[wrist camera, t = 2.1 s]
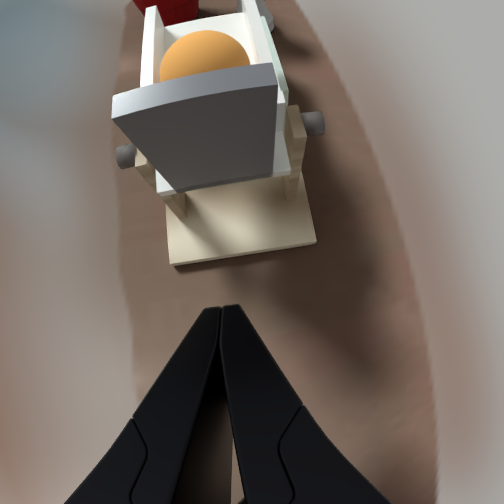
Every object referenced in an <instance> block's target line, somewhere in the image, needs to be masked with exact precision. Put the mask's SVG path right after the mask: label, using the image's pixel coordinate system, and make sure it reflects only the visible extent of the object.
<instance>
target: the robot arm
mask: <svg viewBox="0 0 504 504" xmlns="http://www.w3.org/2000/svg"><path fill="white" fill-rule="evenodd" d="M132 417H133V419H130V420H129V422H128V423H127V424H126V426H125V427H124V429H123V430H122V432H121V433H120V435H119V436H118V438H117V439H116V441H115V442H114V443H113V445H112V446H111V448H110V449H109V450H108V452H107V453H106V454H105V455H104V457H103V458H102V459H101V460H100V462H99V463H98V464H97V465H96V467H95V468H94V469H93V470H92V471H91V473H90V474H89V475H88V476H87V477H86V479H85V480H84V481H83V482H82V483H81V484H80V485H79V487H78V488H77V489H76V490H75V491H74V492H73V494H72V495H71V496H70V497H69V498H68V500H67V501H66V502H65V503H64V504H231V475H232V444H233V438H234V444H235V450H236V455H237V461H238V466H239V471H240V476H241V482H242V487H243V492H244V498H243V499H242V500H241V501H240V502H239V503H238V504H392V503H391V502H390V501H389V500H388V499H387V498H386V497H384V496H383V495H382V494H381V493H380V492H379V491H378V490H377V489H376V488H375V487H374V486H373V485H372V484H371V483H370V482H369V481H368V480H367V479H366V478H365V477H364V476H363V475H362V474H361V473H360V472H359V471H358V470H357V469H356V468H355V467H354V466H353V465H352V464H351V463H350V462H349V461H348V460H347V459H346V458H345V457H344V456H343V454H342V453H341V452H340V451H339V450H338V449H337V448H336V447H335V445H334V444H333V443H332V442H331V441H330V440H329V439H328V437H327V436H326V435H325V433H324V432H323V431H322V429H321V428H320V427H319V425H318V424H317V423H316V421H315V420H314V418H313V417H312V416H311V414H310V413H309V411H308V410H307V408H306V407H305V406H304V405H303V403H302V401H301V399H300V398H299V396H298V395H297V393H296V392H295V390H294V389H293V387H292V386H291V384H290V383H289V381H288V380H287V378H286V377H285V375H284V374H283V372H282V371H281V369H280V368H279V366H278V364H277V363H276V361H275V360H274V358H273V357H272V355H271V354H270V352H269V350H268V349H267V347H266V346H265V344H264V343H263V341H262V339H261V338H260V336H259V335H258V333H257V332H256V330H255V328H254V327H253V325H252V324H251V322H250V320H249V319H248V317H247V316H246V314H245V312H244V311H243V309H242V308H241V306H240V305H239V304H231V305H225V306H223V307H222V308H221V307H219V306H217V307H209V308H205V309H204V310H203V311H202V312H201V314H200V315H199V317H198V318H197V320H196V321H195V323H194V324H193V326H192V327H191V329H190V330H189V332H188V333H187V334H186V336H185V337H184V339H183V340H182V342H181V343H180V345H179V346H178V348H177V349H176V351H175V352H174V354H173V355H172V357H171V358H170V360H169V361H168V363H167V364H166V366H165V367H164V369H163V370H162V372H161V373H160V375H159V376H158V378H157V379H156V381H155V382H154V384H153V385H152V387H151V388H150V390H149V391H148V393H147V394H146V396H145V397H144V399H143V400H142V402H141V403H140V405H139V406H138V408H137V409H136V411H135V413H134V414H133V416H132Z"/></svg>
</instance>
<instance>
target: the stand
mask: <svg viewBox="0 0 504 504" xmlns="http://www.w3.org/2000/svg"><path fill="white" fill-rule="evenodd" d="M324 132H325V123H324V118H323V115H322V113H321V112H320V111H317V112H305V113H300V110H299V107H298V105H289V106H286V112H285V129H284V140H285V144H286V149H287V154H288V158H289V163H290V168H291V172H290V175H285V176H278V177H271V178H264V179H257V180H251V181H244V182H238V183H232V184H226V185H220V186H214V187H209V188H203V189H198V190H192V191H187V192H182V193H176V194H171V195H166V196H160V195H159V194H158V193H157V186H156V170H155V168H154V167H153V165H152V164H151V163H150V162H149V161H148V160H147V159H146V158H145V156H144V155H143V154H142V153H141V152H140V151H139V150H138V148H137V147H136V146H135V145H134V144H133V143H131V144H127V145H123V146H120V147H117V149H116V159H117V163H118V165H119V167H120V168H121V169H126V168H130V167H134V166H135V167H136V169H137V170H138V171H139V172H140V173H141V175H142V176H143V177H144V178H145V180H146V181H147V182H148V183H149V184H150V186H151V187H152V188H153V189H154V190H155V192H156V193H157V194H158V195H159V196H160V198H161V199H162V200H163V201H164V202H165V203H166V220H167V235H168V247H169V259H170V264H171V265H172V266H177V265H184V264H190V263H197V262H203V261H210V260H216V259H223V258H229V257H236V256H242V255H248V254H255V253H261V252H268V251H274V250H281V249H287V248H293V247H300V246H306V245H313V244H315V243H316V242H317V240H316V235H315V230H314V226H313V221H312V216H311V211H310V207H309V202H308V198H307V193H306V189H305V184H304V180H303V176H302V171H301V167H302V162H303V156H304V151H305V145H306V140H307V136H313V135H323V134H324Z"/></svg>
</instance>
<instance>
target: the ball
mask: <svg viewBox="0 0 504 504" xmlns="http://www.w3.org/2000/svg"><path fill="white" fill-rule="evenodd" d="M246 65H250V60H249V57H248V55H247V53H246V51H245V49H244V48H243V47H242V45H241V44H240V43H239V42H238V41H237V40H235V39H234V38H232V37H231V36H229V35H227V34H225V33H222V32H218V31H213V30H202V31H196V32H192V33H190V34H187V35H185V36H183V37H181V38H180V39H178V40H177V41H176V42H175V43H173V44H172V46H171V47H170V48H169V49H168V50H167V52H166V53H165V55H164V57H163V60H162V62H161V66H160V82H163V81H167V80H171V79H175V78H180V77H184V76H189V75H193V74H198V73H203V72H209V71H214V70H220V69H226V68H232V67H239V66H246Z"/></svg>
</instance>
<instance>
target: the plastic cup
mask: <svg viewBox="0 0 504 504" xmlns="http://www.w3.org/2000/svg"><path fill="white" fill-rule="evenodd" d="M133 2H134V3H135V5H136V6H137V8H138V9H139V10H140V11H141V12H142V14H143V15H144V17H145V13H146V8H148V7H152V6H155V5H156V6H157V9H158V12H159V14H160V17H161V20H162V22H163V25H164V27H167V26H171V25H175V24H179V23H184V22H188V21H193V20H195V18H196V17H197V15H198V11H199V8H198V0H133Z"/></svg>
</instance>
